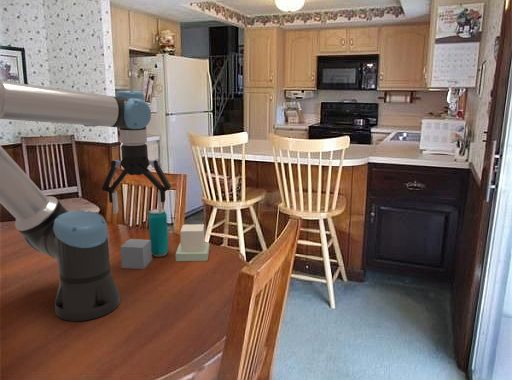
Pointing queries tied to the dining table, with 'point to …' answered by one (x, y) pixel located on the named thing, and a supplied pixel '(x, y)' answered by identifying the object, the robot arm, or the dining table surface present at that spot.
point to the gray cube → (136, 254)
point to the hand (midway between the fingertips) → (138, 212)
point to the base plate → (192, 254)
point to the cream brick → (192, 238)
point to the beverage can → (158, 232)
